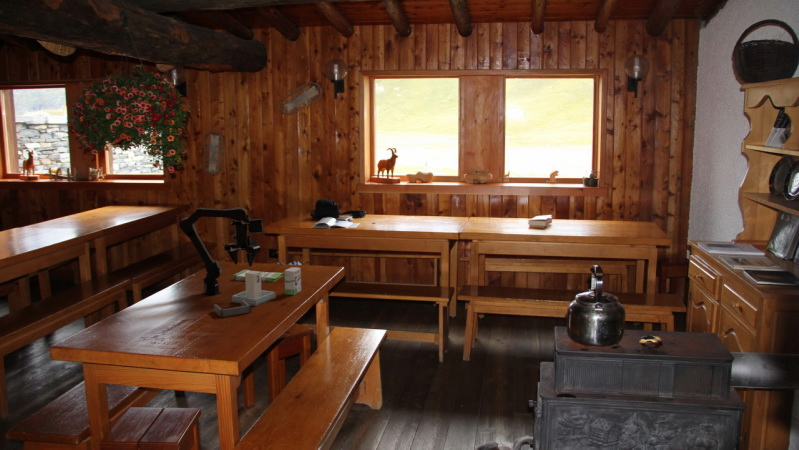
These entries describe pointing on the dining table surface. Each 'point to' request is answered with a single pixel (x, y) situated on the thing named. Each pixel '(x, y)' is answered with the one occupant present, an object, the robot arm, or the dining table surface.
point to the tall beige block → (253, 284)
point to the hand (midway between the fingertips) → (243, 265)
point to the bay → (233, 310)
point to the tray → (255, 302)
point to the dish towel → (264, 276)
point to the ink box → (292, 281)
